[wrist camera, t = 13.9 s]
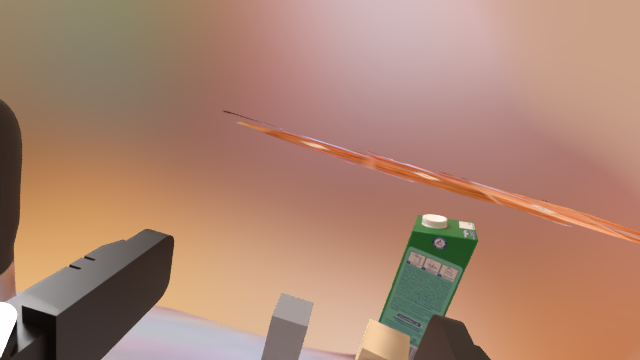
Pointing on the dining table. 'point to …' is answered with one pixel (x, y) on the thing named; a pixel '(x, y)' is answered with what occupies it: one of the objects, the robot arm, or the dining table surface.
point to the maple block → (383, 343)
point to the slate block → (287, 329)
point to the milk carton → (428, 275)
